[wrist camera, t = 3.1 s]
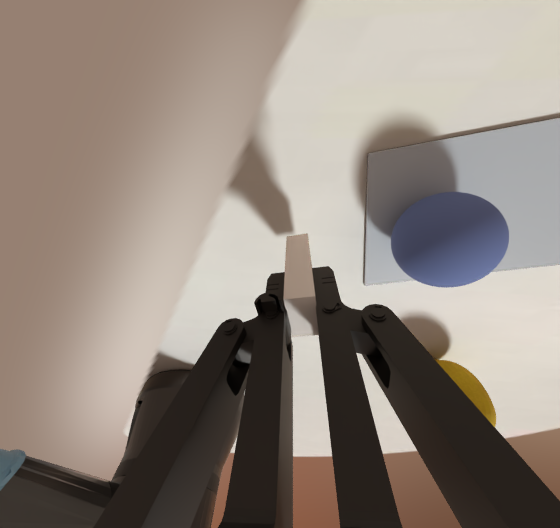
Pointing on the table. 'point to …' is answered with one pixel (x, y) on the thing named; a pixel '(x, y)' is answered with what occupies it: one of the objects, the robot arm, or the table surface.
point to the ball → (450, 239)
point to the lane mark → (471, 191)
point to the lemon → (470, 388)
